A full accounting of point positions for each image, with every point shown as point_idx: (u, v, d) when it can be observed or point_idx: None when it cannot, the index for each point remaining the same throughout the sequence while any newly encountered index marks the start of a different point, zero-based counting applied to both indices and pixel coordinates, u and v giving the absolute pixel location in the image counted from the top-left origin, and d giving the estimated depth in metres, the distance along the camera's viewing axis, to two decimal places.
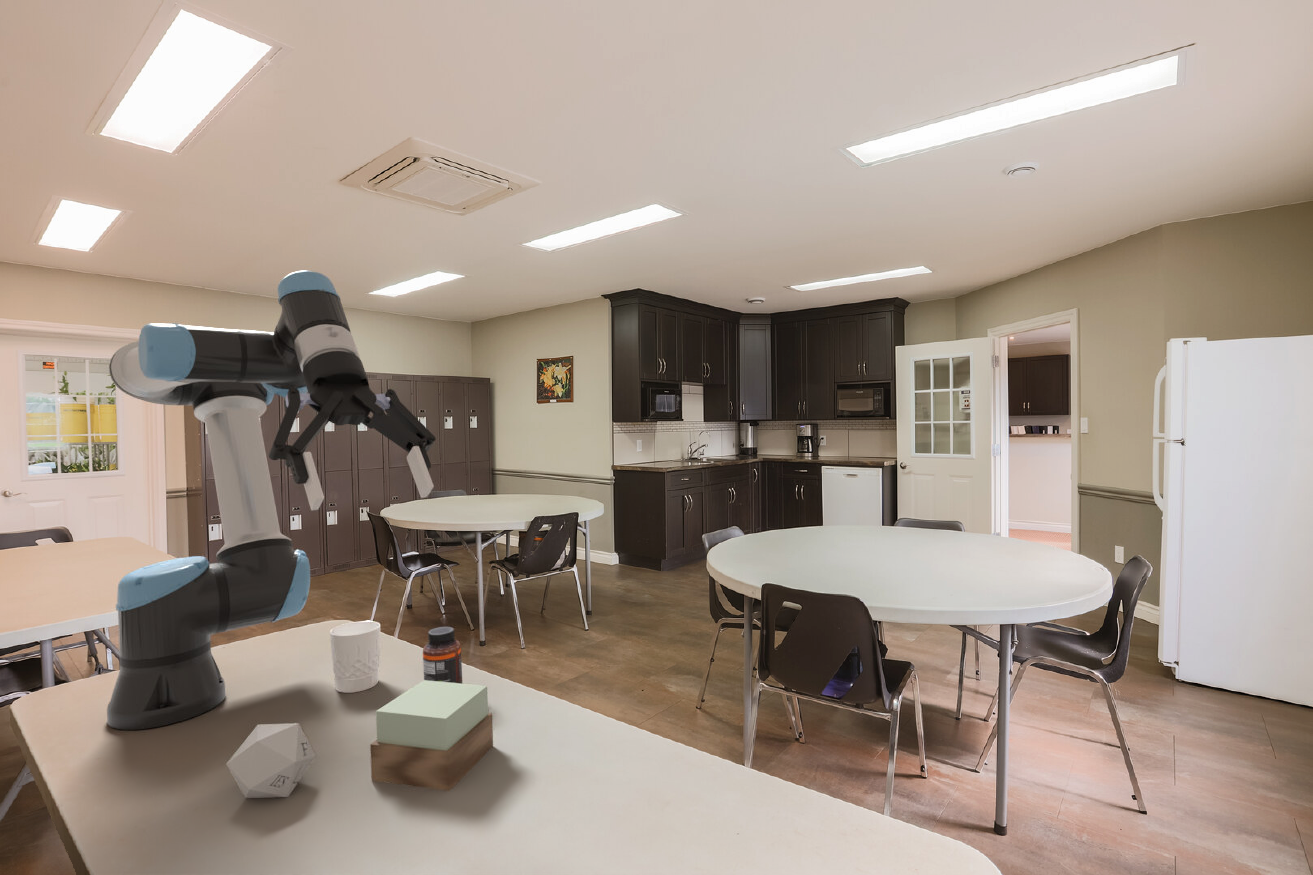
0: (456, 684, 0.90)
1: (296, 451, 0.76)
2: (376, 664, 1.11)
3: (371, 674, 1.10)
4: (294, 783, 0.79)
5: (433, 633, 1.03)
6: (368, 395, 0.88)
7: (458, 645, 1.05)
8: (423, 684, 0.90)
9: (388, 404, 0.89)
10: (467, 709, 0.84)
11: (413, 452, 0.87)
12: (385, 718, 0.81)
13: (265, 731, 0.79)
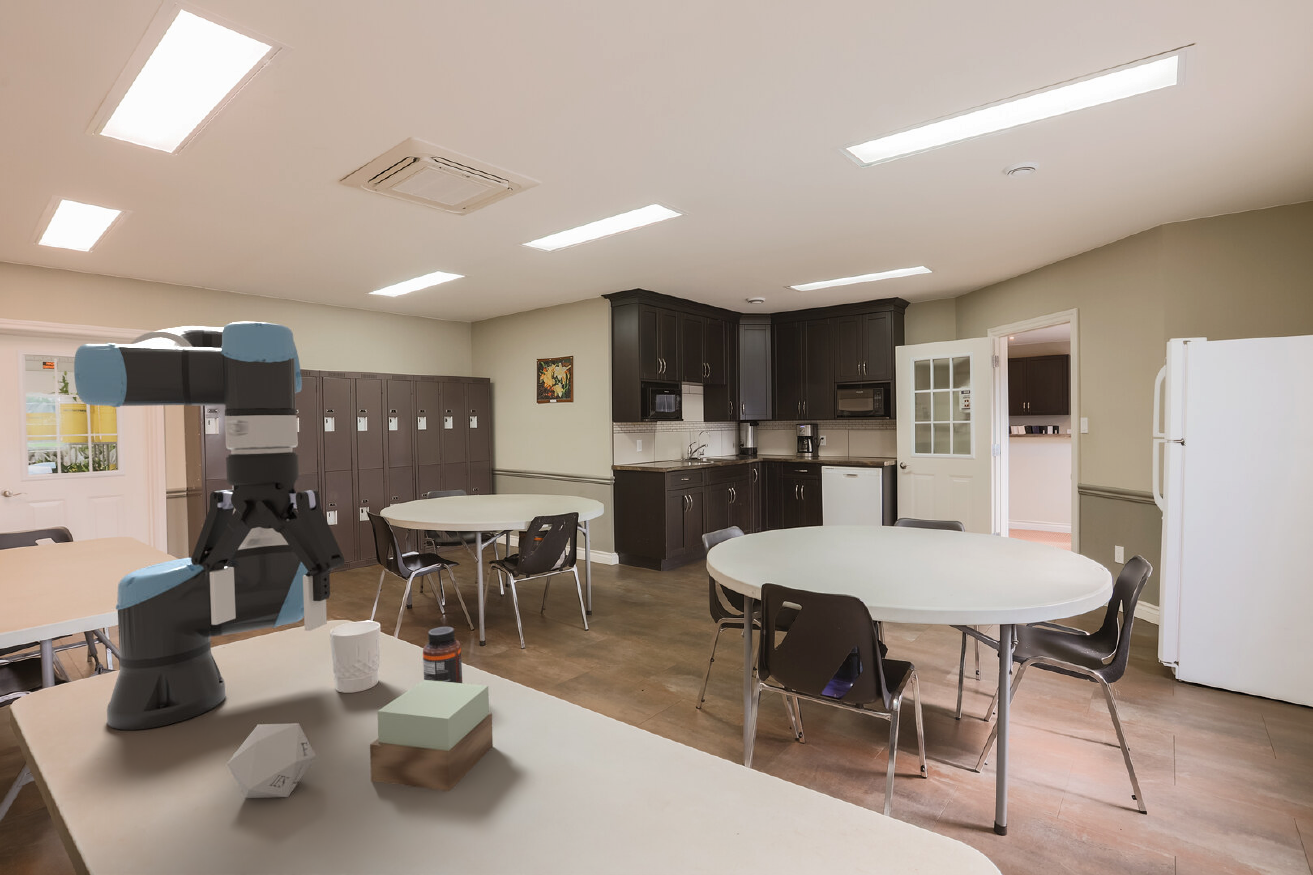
0: (457, 684, 0.90)
1: (206, 569, 0.80)
2: (376, 664, 1.11)
3: (371, 674, 1.10)
4: (294, 783, 0.79)
5: (433, 633, 1.03)
6: (277, 501, 0.77)
7: (458, 645, 1.05)
8: (423, 683, 0.90)
9: None
10: (468, 709, 0.84)
11: None
12: (386, 718, 0.81)
13: (265, 731, 0.79)
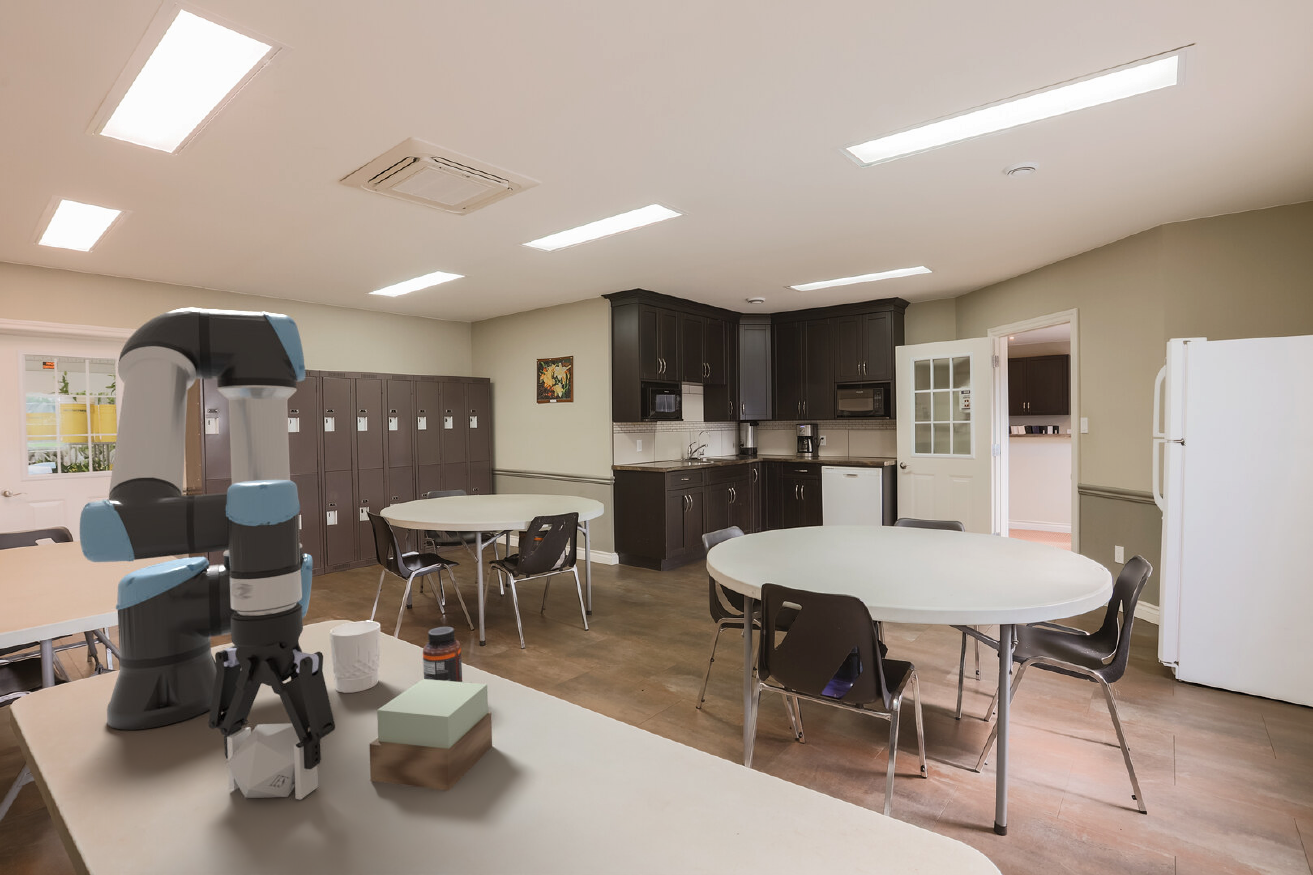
0: (456, 683, 0.90)
1: (224, 734, 0.80)
2: (376, 664, 1.11)
3: (371, 674, 1.10)
4: (294, 783, 0.79)
5: (433, 633, 1.03)
6: (281, 659, 0.77)
7: (458, 645, 1.05)
8: (422, 683, 0.90)
9: None
10: (468, 707, 0.84)
11: None
12: (386, 717, 0.82)
13: (265, 731, 0.79)
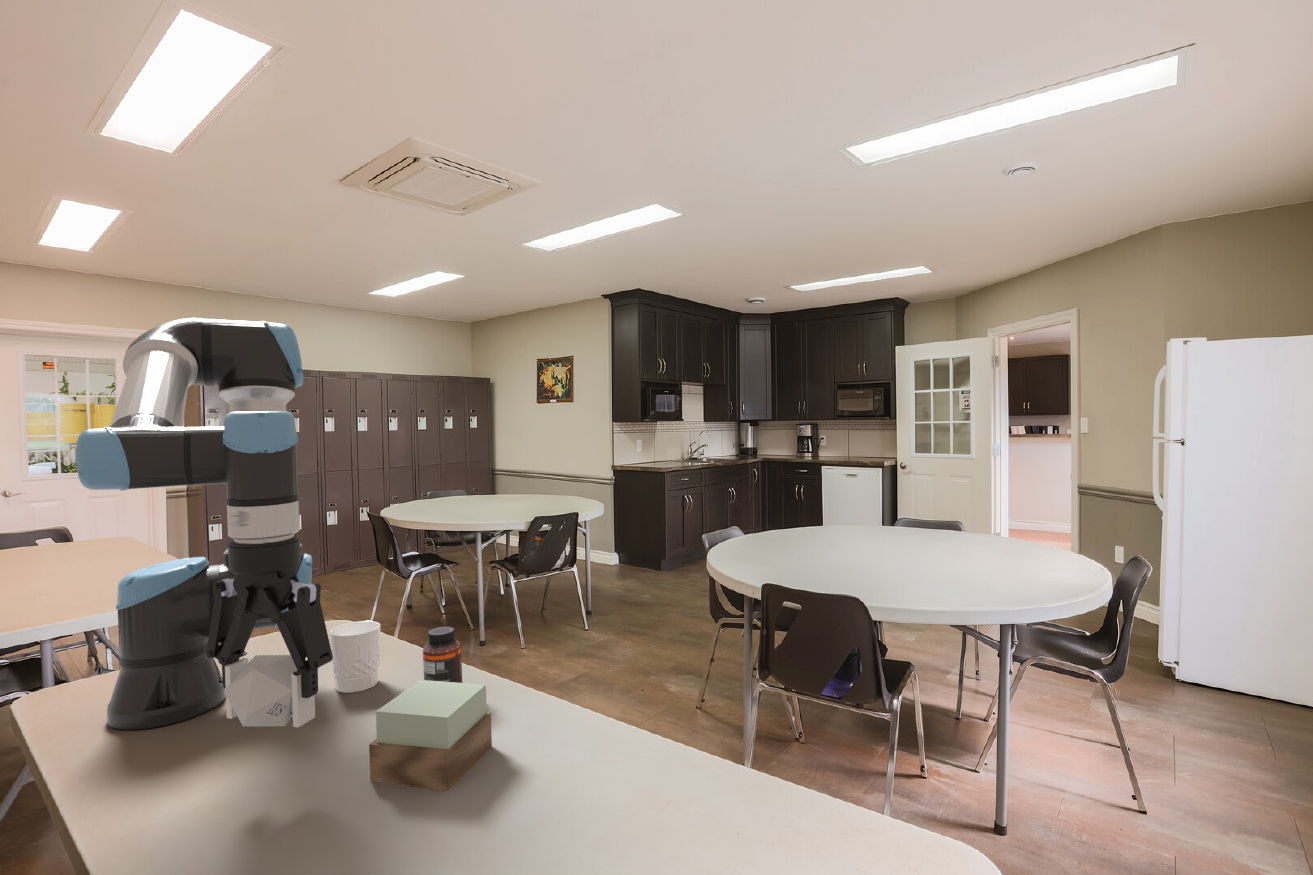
0: (454, 683, 0.90)
1: (221, 663, 0.80)
2: (376, 664, 1.11)
3: (371, 674, 1.10)
4: (291, 713, 0.79)
5: (433, 633, 1.03)
6: (278, 588, 0.77)
7: (458, 645, 1.05)
8: (420, 683, 0.90)
9: None
10: (467, 708, 0.84)
11: None
12: (385, 718, 0.81)
13: (262, 661, 0.79)
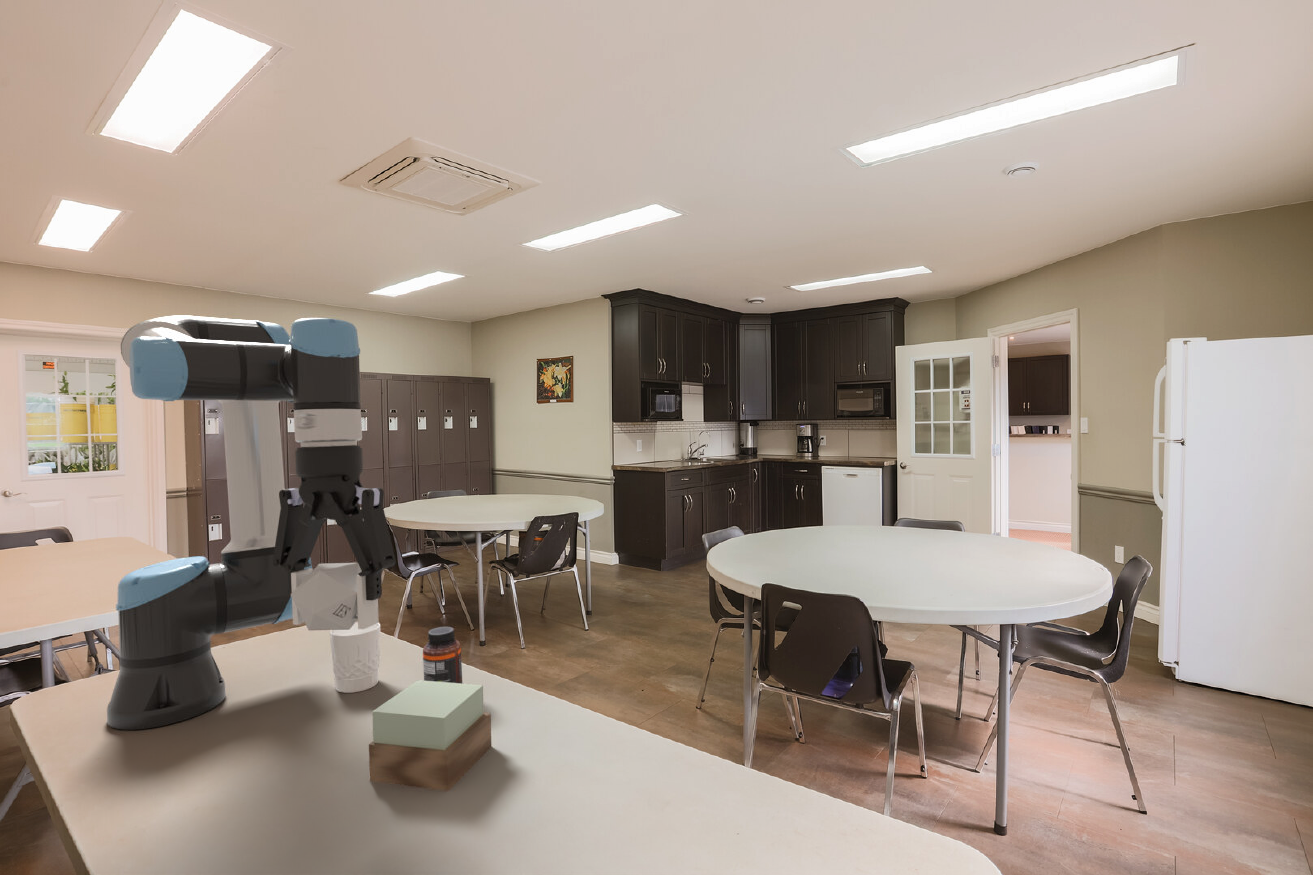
0: (451, 684, 0.90)
1: (288, 570, 0.81)
2: (376, 664, 1.11)
3: (371, 674, 1.10)
4: (355, 618, 0.80)
5: (433, 633, 1.03)
6: (343, 492, 0.79)
7: (458, 645, 1.05)
8: (417, 684, 0.90)
9: None
10: (464, 708, 0.84)
11: None
12: (381, 718, 0.81)
13: (327, 566, 0.80)
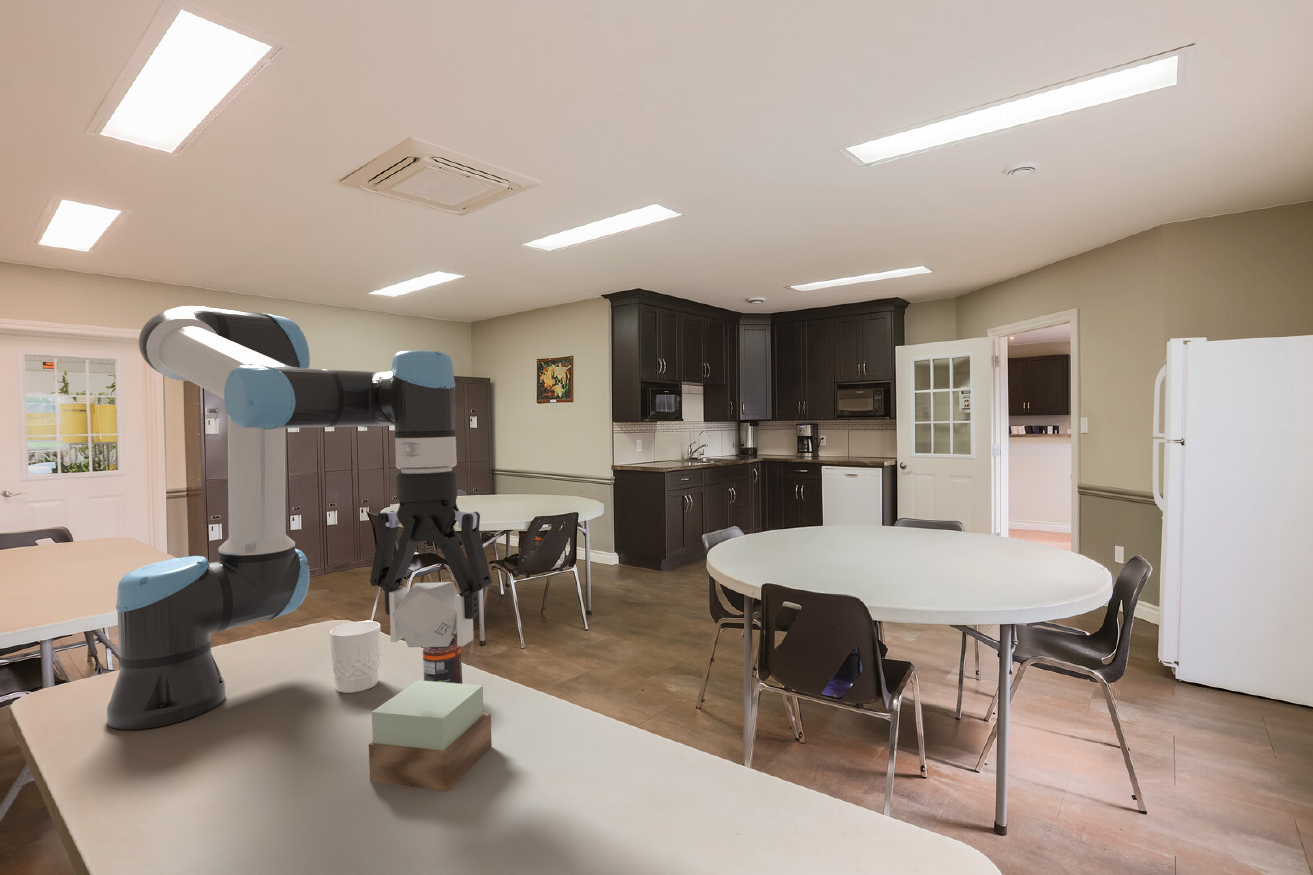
0: (451, 684, 0.89)
1: (385, 590, 0.85)
2: (376, 664, 1.11)
3: (371, 674, 1.10)
4: (452, 635, 0.84)
5: None
6: (443, 516, 0.83)
7: None
8: (417, 684, 0.90)
9: None
10: (463, 709, 0.84)
11: None
12: (380, 718, 0.81)
13: (425, 586, 0.84)
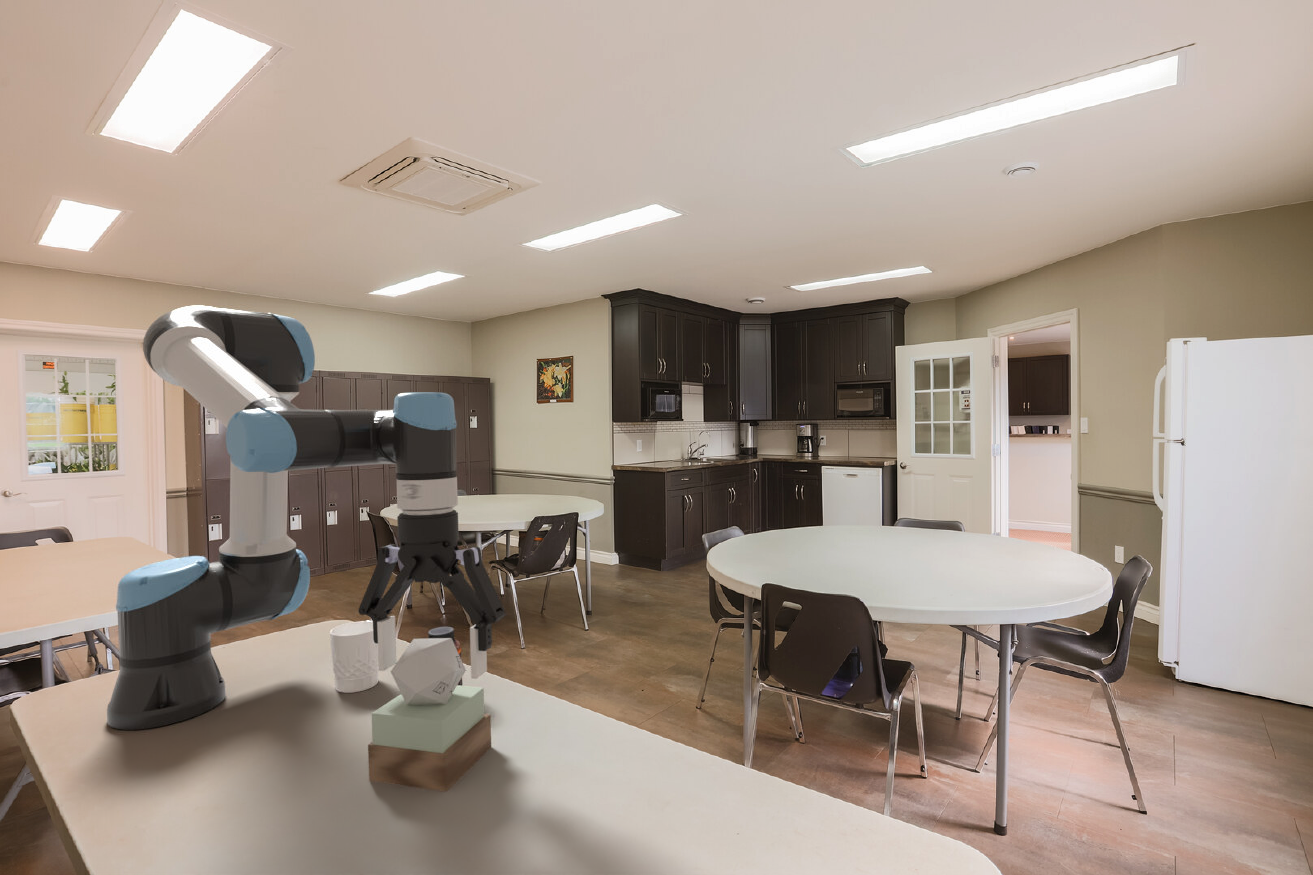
0: None
1: (373, 619, 0.86)
2: (376, 664, 1.11)
3: (371, 674, 1.10)
4: (450, 692, 0.84)
5: (433, 633, 1.03)
6: (444, 557, 0.83)
7: (458, 645, 1.05)
8: None
9: None
10: (463, 711, 0.83)
11: None
12: (380, 720, 0.81)
13: (423, 643, 0.84)
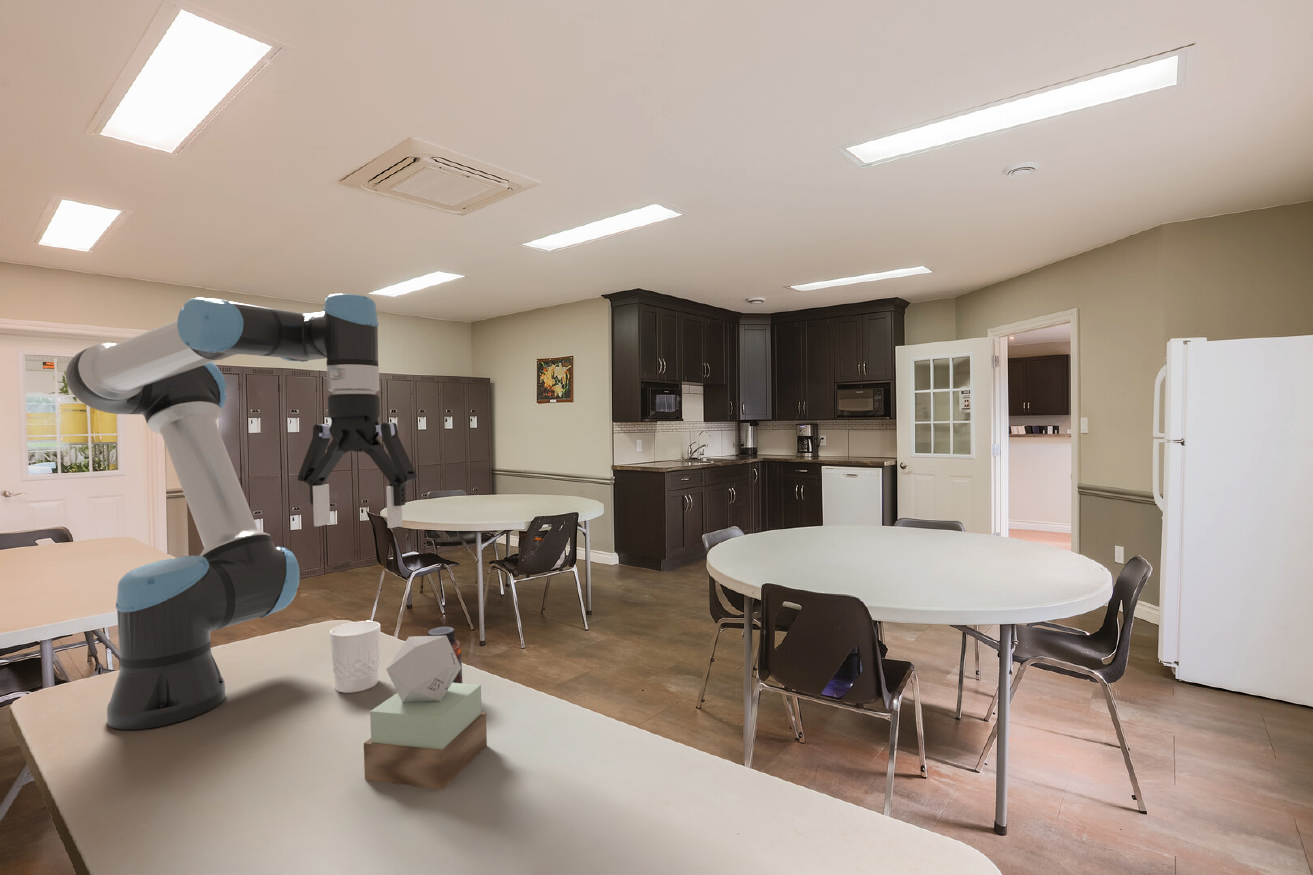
0: None
1: (309, 484, 1.04)
2: (376, 664, 1.11)
3: (371, 674, 1.10)
4: (445, 689, 0.85)
5: (433, 633, 1.03)
6: (366, 430, 1.01)
7: (458, 645, 1.05)
8: None
9: None
10: (461, 708, 0.84)
11: None
12: (379, 718, 0.81)
13: (418, 641, 0.85)
